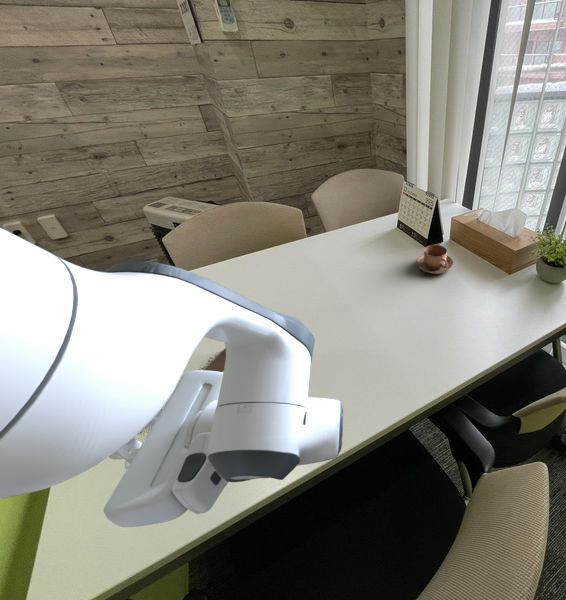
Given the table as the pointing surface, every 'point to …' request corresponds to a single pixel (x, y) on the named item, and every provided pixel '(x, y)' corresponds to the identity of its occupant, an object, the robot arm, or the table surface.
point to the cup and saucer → (435, 260)
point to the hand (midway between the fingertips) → (119, 438)
